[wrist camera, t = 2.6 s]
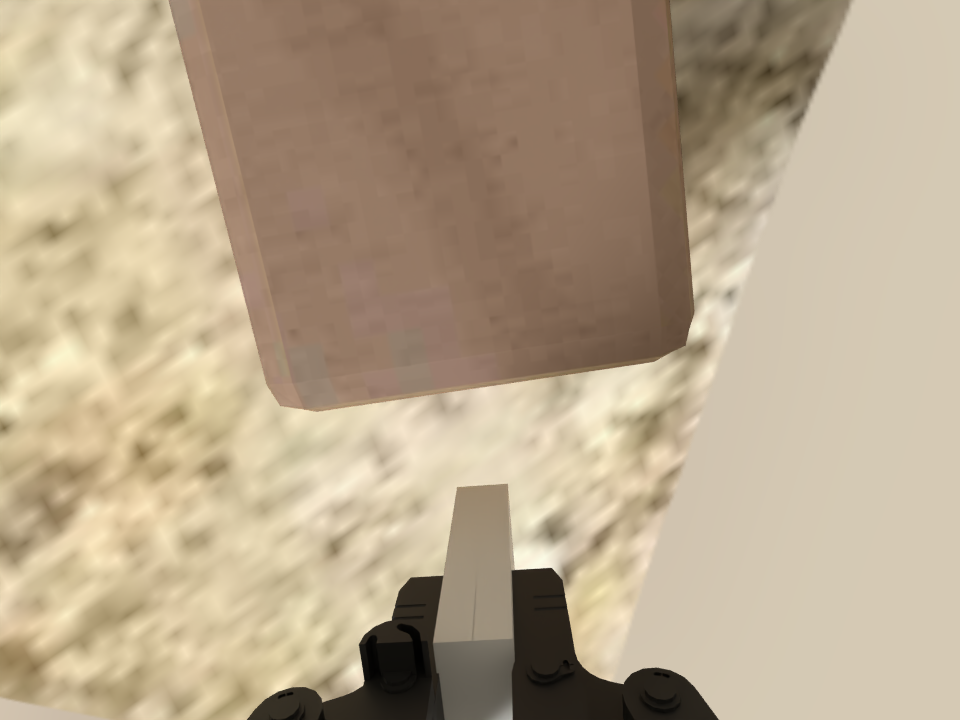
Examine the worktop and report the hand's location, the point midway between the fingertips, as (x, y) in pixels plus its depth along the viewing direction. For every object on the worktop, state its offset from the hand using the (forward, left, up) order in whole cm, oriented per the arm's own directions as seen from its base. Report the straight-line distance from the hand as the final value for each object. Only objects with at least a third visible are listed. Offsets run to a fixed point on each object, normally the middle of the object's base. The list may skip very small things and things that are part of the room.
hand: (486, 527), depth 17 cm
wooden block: (-10, 0, -17) cm, 19 cm away
